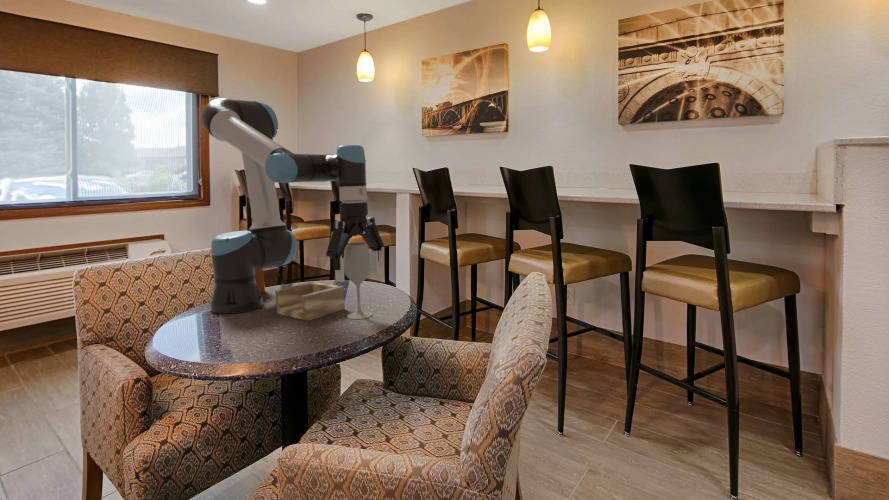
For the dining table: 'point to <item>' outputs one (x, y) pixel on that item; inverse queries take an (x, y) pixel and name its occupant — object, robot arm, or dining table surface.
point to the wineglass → (357, 271)
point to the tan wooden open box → (310, 300)
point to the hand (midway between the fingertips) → (357, 277)
